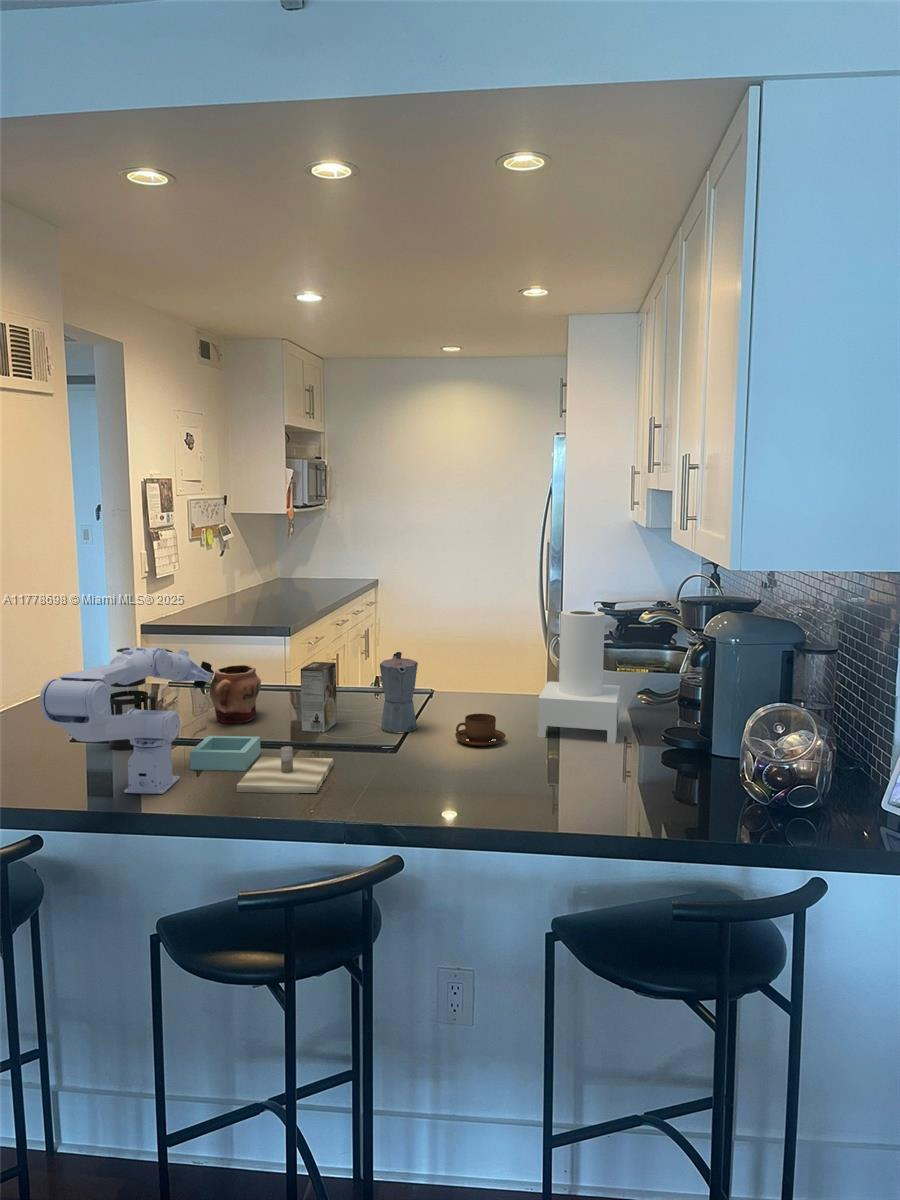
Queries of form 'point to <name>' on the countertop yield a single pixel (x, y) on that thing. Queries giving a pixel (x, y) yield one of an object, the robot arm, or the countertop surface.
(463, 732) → the cup and saucer
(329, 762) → the post board
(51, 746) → the countertop surface
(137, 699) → the french press
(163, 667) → the robot arm
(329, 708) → the coffee box
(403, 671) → the moka pot
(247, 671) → the decorative planter
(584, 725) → the paper towel holder
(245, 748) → the square loop
